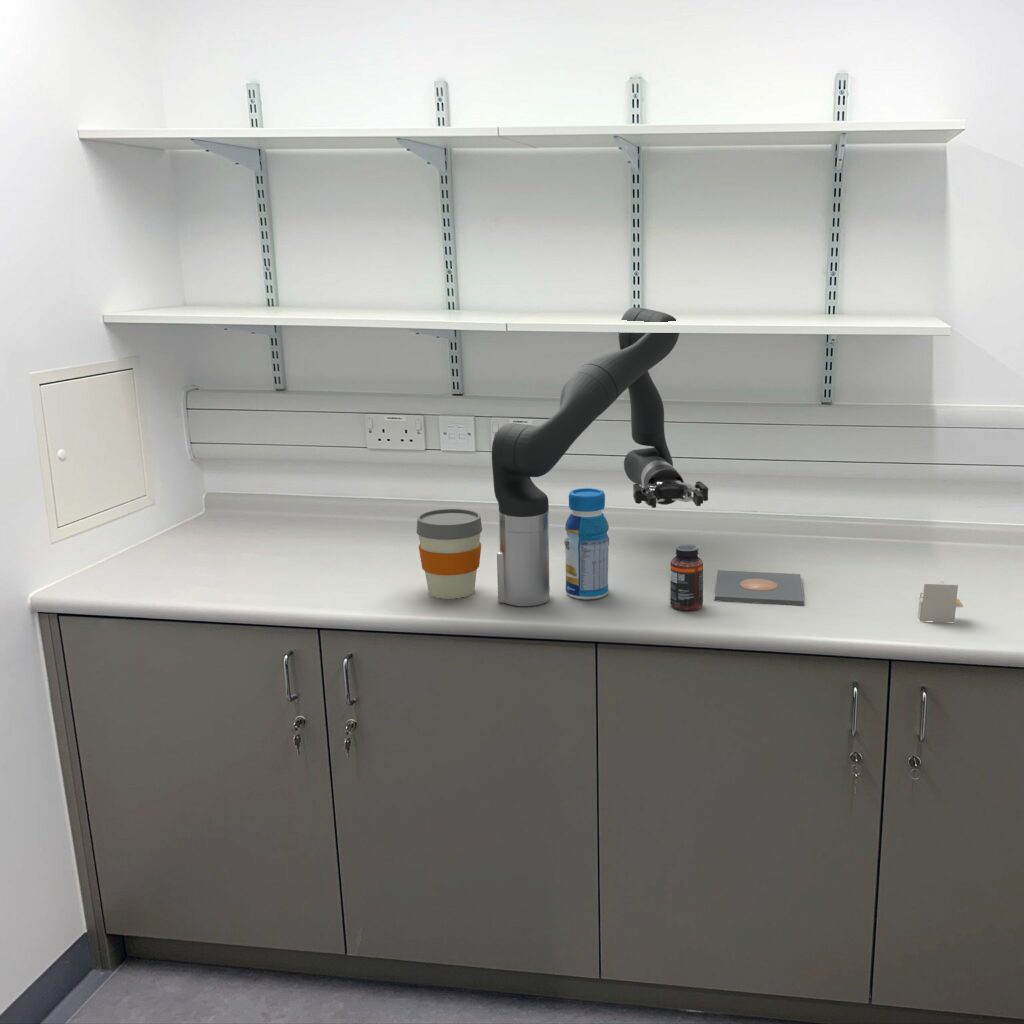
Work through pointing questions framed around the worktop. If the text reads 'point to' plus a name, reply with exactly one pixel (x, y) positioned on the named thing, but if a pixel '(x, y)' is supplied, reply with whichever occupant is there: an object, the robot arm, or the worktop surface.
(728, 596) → the mat
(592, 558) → the beverage bottle
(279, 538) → the worktop surface
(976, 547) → the worktop surface
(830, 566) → the worktop surface
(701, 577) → the supplement bottle
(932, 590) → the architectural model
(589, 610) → the worktop surface
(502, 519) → the robot arm
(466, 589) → the reusable coffee cup
